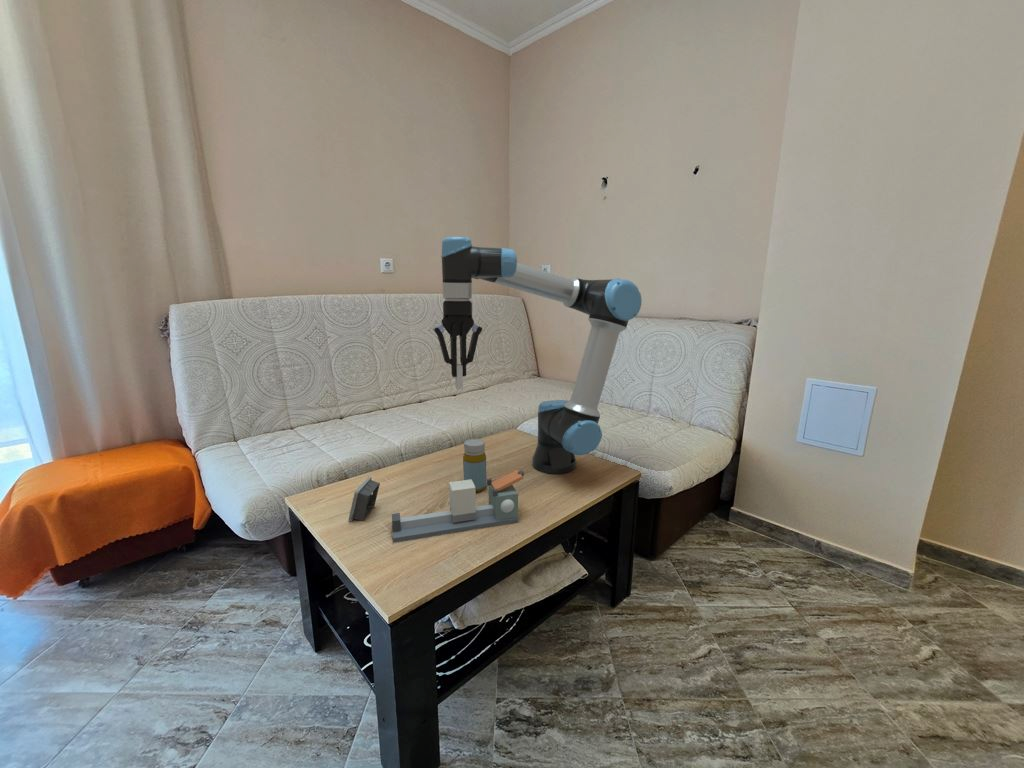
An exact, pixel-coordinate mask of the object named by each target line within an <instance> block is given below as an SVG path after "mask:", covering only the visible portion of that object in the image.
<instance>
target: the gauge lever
mask: <svg viewBox="0 0 1024 768" xmlns="http://www.w3.org/2000/svg"><path fill="white" fill-rule="evenodd" d="M524 476H525V472H524V471H523V470H522V469H521V470H518V469H516V470H513V471H512V472H509V473H508V474H505V475H504V476H502V477H500V478H498V479H496V480H494V481H493V480H492V482H491V484H492V486H493V488H494V489H497V490H498V491H500V490H502V489H504V488H506V487H508V486H510V485H514V484H515V483H516V484H517V483H518V482H520V481H522V480H524Z"/></svg>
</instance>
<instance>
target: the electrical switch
mask: <svg viewBox="0 0 1024 768" xmlns="http://www.w3.org/2000/svg"><path fill="white" fill-rule="evenodd" d="M380 485H381V483H380V482H377V481H375V480H372V477H371V476H367V478H366V479H365V480H363V482H362V483H361V484H360V485H359V486H358V487H357V488H356V489H355V491H354V492H353V493H354V494H353V498H352V503H351V507H350V511H349V516H348V521H349V522H353V520H356V521H362V522H364V521H365V519H366V518H367V517H368V516H369V514H370V513H371V512H372V510H374V507H375V506H376V502H377V497H378V492H379V489H380Z"/></svg>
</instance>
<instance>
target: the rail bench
mask: <svg viewBox="0 0 1024 768" xmlns="http://www.w3.org/2000/svg"><path fill="white" fill-rule="evenodd" d="M491 482H493V479H492V478H491V477H489V478H488V477H487V478H486V483H487V484H486V486H488V504H486V505H477V506H476V519H475V520H468V521H462V522H456V523H453V520H452V511H450V510H445V511H438V512H432V513H431V512H430V513H426V514H424V513H423V514H419V515H417V514H416V515H410V516H405V517H401V513H400V512H395V513H391V525H392V526H391V528H392V543H393V544H395V543H400V542H407V541H412V540H418V539H424V538H430V537H437V536H444V535H448V534H454V533H461V532H467V531H472V530H474V531H475V530H479V529H485V528H491V527H497V526H504V525H510V524H516V523H519V493H518V492H517V490H516V488H515V487H514V484H512V485H510V486H508V487H506V488H504V489H502V490H500V491H498V490H497V489H494V488H493V486H492V484H491Z"/></svg>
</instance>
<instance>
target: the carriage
mask: <svg viewBox="0 0 1024 768" xmlns="http://www.w3.org/2000/svg"><path fill="white" fill-rule="evenodd" d="M448 484H449V488H448V489H449V490H448V491H449V511H452V520H453V523H456V522H462V521H468V520H475V519H476V507H477V502H476V500H477V498H476V497H477V496H476V494H477V492H476V490H475V486H474V483H473V481H472V479H470V480H464V479H462V480H455V481H449V483H448Z"/></svg>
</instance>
